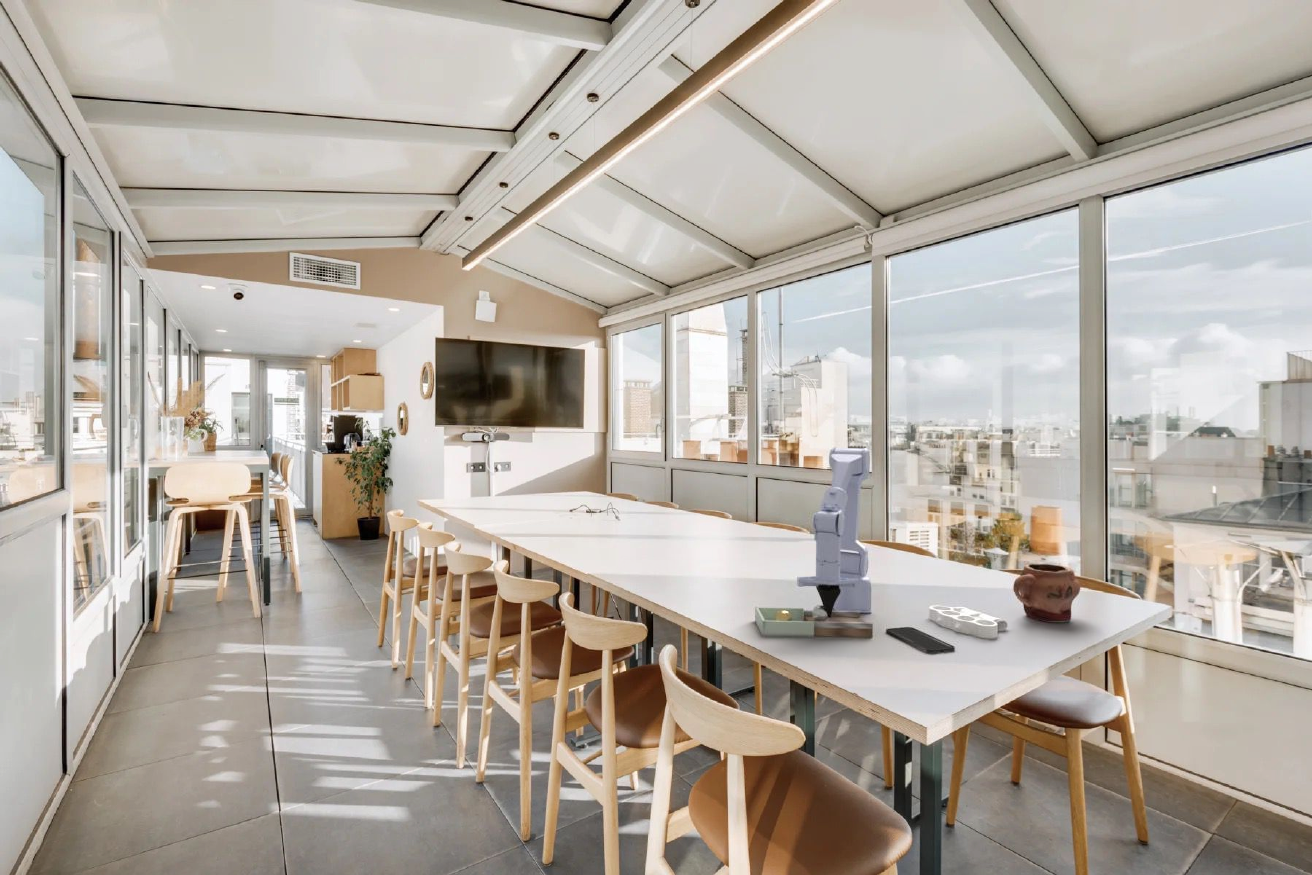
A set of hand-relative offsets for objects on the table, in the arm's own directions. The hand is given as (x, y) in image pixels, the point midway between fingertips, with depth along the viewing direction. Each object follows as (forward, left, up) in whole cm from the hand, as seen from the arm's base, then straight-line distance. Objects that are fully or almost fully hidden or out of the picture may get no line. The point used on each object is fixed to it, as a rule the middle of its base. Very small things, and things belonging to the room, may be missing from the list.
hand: (827, 616), depth 147 cm
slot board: (-3, -1, -3) cm, 4 cm away
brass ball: (+11, 0, -1) cm, 11 cm away
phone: (-20, +6, -4) cm, 21 cm away
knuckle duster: (-36, -6, -4) cm, 37 cm away
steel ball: (+1, 0, 0) cm, 2 cm away
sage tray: (+10, -1, -3) cm, 11 cm away
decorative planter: (-60, -13, -4) cm, 62 cm away
